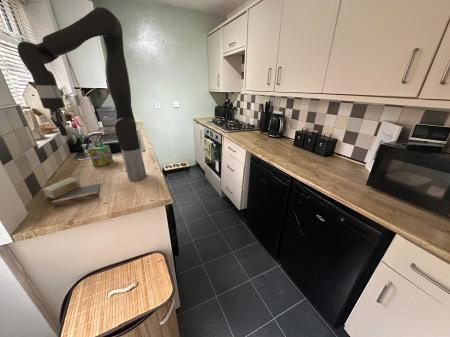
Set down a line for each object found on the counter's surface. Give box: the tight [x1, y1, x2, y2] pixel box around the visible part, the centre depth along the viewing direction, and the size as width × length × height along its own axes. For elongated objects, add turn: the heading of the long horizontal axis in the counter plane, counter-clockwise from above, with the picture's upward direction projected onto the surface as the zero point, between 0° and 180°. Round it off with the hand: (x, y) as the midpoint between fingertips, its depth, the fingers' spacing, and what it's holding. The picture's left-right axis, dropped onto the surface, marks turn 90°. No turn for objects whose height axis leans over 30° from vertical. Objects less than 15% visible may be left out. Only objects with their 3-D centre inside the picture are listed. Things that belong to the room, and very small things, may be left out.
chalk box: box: [88, 141, 114, 167], centre depth 119 cm, size 9×9×15 cm
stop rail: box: [51, 191, 99, 208], centre depth 81 cm, size 16×2×2 cm, turn 119°
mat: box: [56, 183, 101, 200], centre depth 87 cm, size 16×12×1 cm
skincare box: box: [42, 177, 82, 200], centre depth 88 cm, size 6×4×12 cm
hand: (64, 135), depth 87 cm, fingers closed
